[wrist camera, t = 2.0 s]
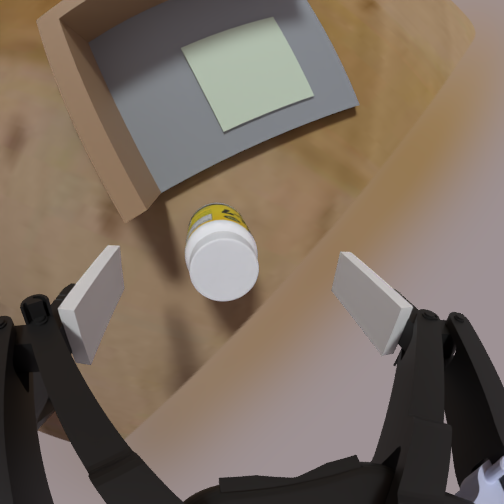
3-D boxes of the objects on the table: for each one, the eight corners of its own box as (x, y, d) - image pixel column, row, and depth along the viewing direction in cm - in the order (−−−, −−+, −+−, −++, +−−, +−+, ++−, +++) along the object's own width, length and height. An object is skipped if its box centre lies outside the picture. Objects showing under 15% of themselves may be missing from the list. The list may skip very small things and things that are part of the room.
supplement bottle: (255, 232, 24) (282, 275, 16) (213, 265, 24) (221, 321, 17) (219, 189, 22) (230, 214, 14) (176, 226, 22) (165, 269, 15)
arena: (146, 200, 21) (125, 223, 15) (71, 44, 14) (36, 20, 8) (354, 105, 21) (402, 98, 15) (275, -37, 14) (297, -74, 8)
